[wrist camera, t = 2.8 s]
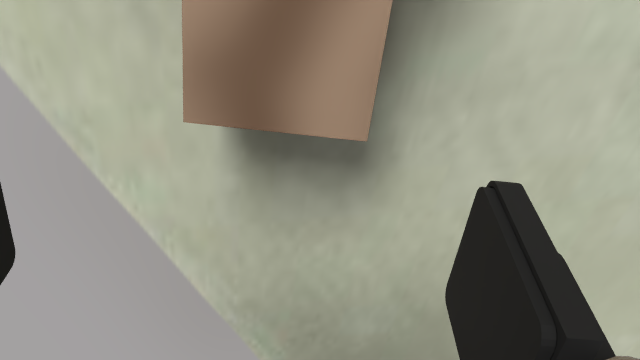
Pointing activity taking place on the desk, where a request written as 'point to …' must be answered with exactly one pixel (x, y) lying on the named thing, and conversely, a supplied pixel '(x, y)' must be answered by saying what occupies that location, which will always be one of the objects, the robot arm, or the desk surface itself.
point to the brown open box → (283, 64)
